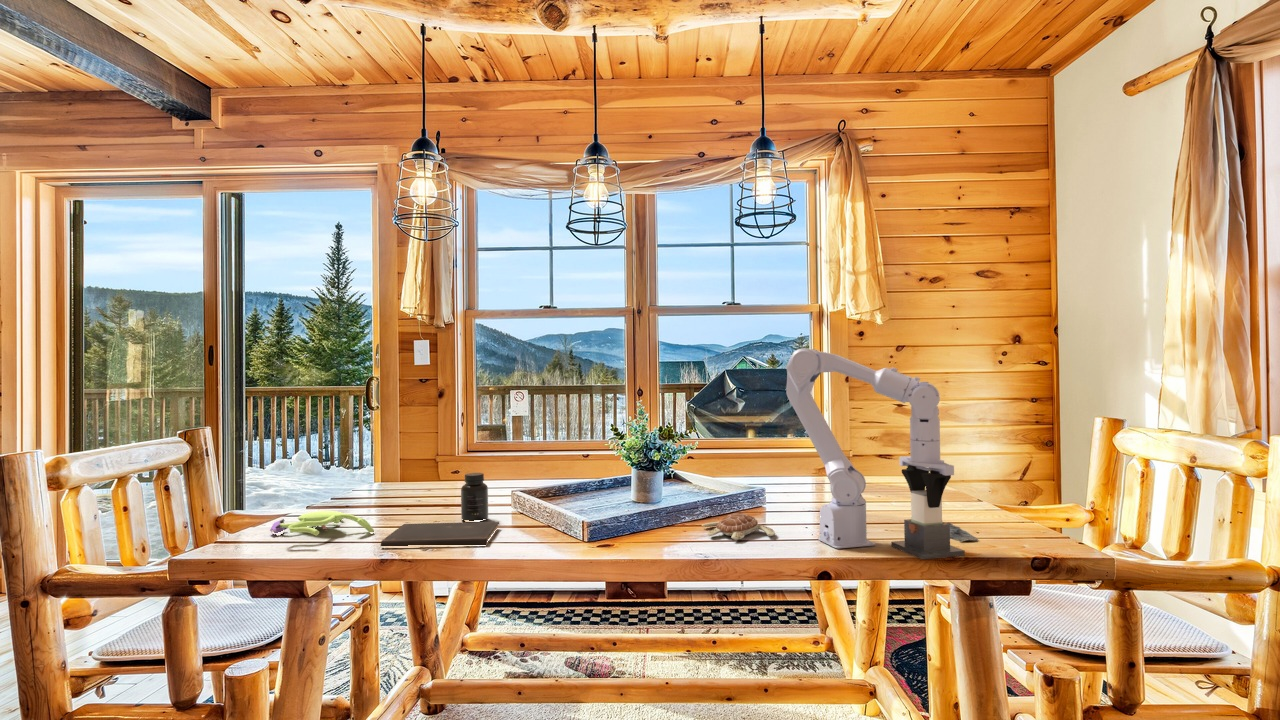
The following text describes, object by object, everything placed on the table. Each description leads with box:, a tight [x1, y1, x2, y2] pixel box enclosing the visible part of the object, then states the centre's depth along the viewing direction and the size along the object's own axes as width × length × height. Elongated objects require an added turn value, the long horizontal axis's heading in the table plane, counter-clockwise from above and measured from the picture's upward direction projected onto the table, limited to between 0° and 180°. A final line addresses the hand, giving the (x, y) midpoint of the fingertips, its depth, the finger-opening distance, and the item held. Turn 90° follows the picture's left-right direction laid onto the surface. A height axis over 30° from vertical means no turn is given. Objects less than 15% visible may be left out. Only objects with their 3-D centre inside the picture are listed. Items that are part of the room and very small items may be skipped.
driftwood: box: [946, 522, 980, 543], centre depth 151 cm, size 21×7×2 cm, turn 174°
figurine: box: [269, 510, 375, 537], centre depth 155 cm, size 18×27×6 cm
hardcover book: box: [380, 521, 500, 547], centre depth 149 cm, size 16×23×2 cm
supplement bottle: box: [460, 472, 489, 521], centre depth 168 cm, size 7×7×12 cm
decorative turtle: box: [701, 512, 776, 540], centre depth 151 cm, size 18×17×5 cm
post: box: [910, 489, 944, 526], centre depth 135 cm, size 4×4×9 cm
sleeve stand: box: [890, 518, 966, 560], centre depth 135 cm, size 10×10×6 cm
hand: (926, 504), depth 135 cm, fingers closed on post, 4 cm apart
